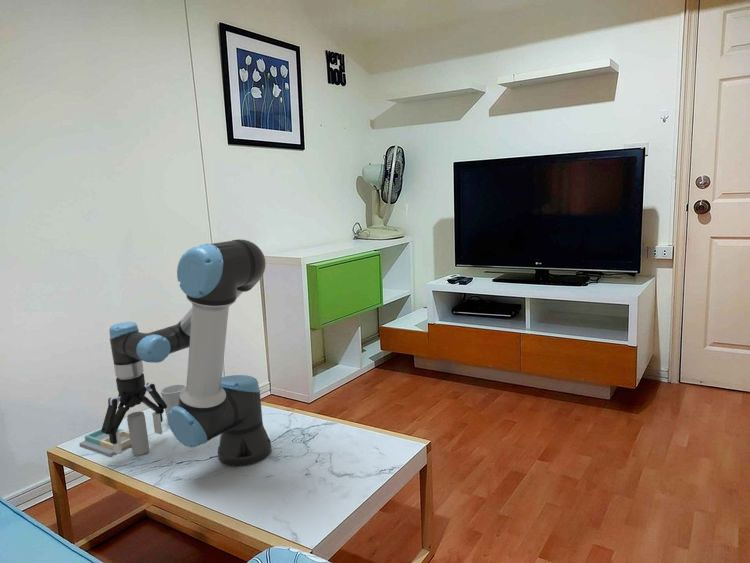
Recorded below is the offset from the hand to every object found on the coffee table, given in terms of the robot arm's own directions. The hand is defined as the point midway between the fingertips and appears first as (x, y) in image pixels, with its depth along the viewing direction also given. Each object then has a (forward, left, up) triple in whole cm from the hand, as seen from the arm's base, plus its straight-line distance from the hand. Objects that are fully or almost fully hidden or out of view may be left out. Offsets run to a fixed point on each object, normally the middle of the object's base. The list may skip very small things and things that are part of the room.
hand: (139, 442), depth 161 cm
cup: (+7, -19, -3) cm, 20 cm away
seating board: (+14, 0, -3) cm, 14 cm away
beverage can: (0, 0, -3) cm, 3 cm away
